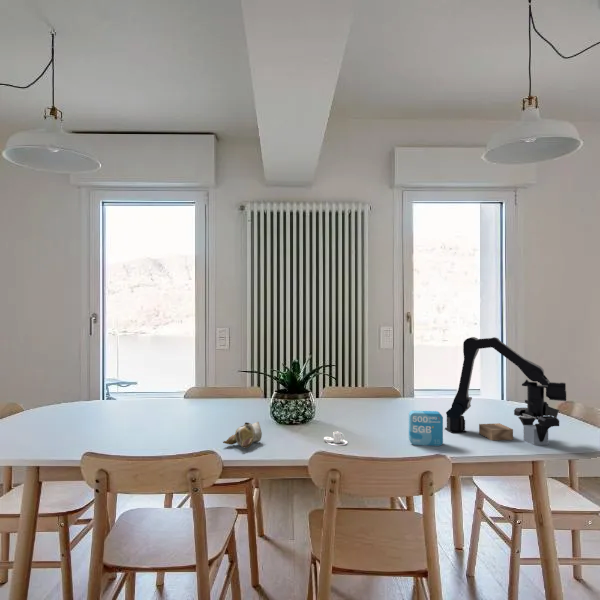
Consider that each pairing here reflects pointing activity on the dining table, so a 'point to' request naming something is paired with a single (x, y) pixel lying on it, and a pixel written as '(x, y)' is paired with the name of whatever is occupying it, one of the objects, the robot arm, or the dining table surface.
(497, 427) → the walnut block
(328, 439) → the teacup and saucer
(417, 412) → the data package
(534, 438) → the slate cube
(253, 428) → the ceramic sculpture
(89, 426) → the dining table surface
